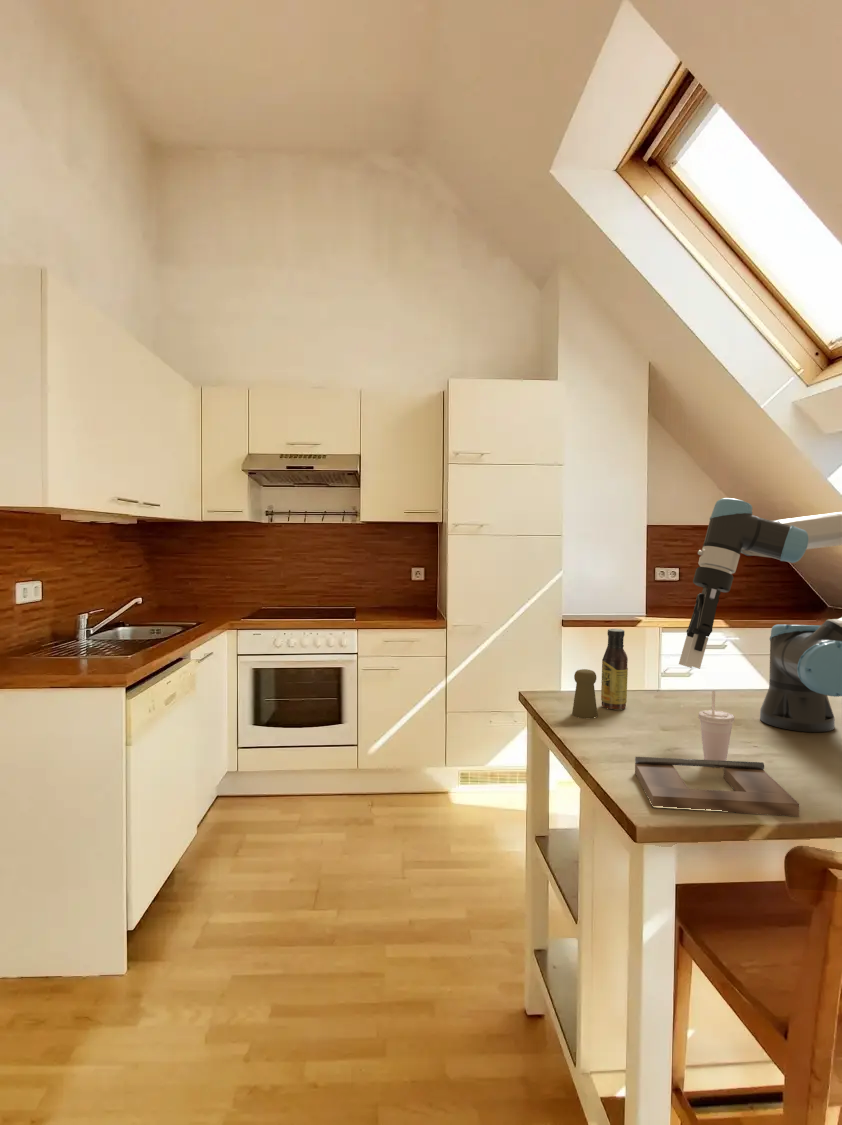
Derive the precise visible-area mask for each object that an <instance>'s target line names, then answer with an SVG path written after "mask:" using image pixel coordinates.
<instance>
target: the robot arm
mask: <svg viewBox="0 0 842 1125" xmlns="http://www.w3.org/2000/svg"><path fill="white" fill-rule="evenodd" d="M836 546H837V547H838V546H842V511H838V512H829V513H822V514H814V515H805V516H798V517H792V518H791V517H790V518H783V519H776V520H770V519H766V518H763V517H759V516H756V515H753V505H752V504H750V503H749V502H748V501H745V500H742V499H737V498H731V497H724V498H720V499H718V500H717V501H716V502H715V504H714V506H713V510H712V513H711V515H710V517H709V523H708V526H707V530H706V534H705V538H704V541H703V545H702V548H701V549H699V550H698V551H697V555H699V560H698V565H699V566H698V567H697V568H696V569H695V573H694V575H693V576H694V577H693V579H692V583H693V584H694V585H695V586H697V587H701V588H702V591H701V593H700V592H699V594H697V595H696V600H695V604H694V607H693V612H692V615H691V618H690V621H689V624H688V628H687V629H686V637H685V640H684V644H683V647H682V651H681V654H680V657H679V661H678V665H680V666H684V667H687V668H691V669H692V668H695V669H696V668H697V669H701V666H702V663H703V658H704V655H705V651H706V649H707V645H708V644H707V643H708V641H709V637H710V635H711V634H712V633H713V626H714V622H715V617H716V612H717V611H716V610H717V608H718V604H719V600H720V598H719V597H720V595H721V593H729V592H730V591H731V587H732V584H733V581H734V576H733V574H735V573H736V571H737V567H738V564H739V560H740V557H741V554H743V555H745V556H747V557H753V556H755V557H763V558H772V559H776V560H779V561H780V562H787V563H793V564H794V563H798V562H799V561H801V559H802V558H803V557H804V555H805V553H806V551H807V550H813V549H819V548H820V549H821V548H829V547H836ZM769 645H770V646H769V683H768V690H767V692H766V694H765V697H764V700H763V702H762V704H761V706H760V709H759V711H760V712H759V720H760V721H762V722H763V723H764V724H767V725H770V726H772V727H775V728H779V729H783V730H789V731H797V732H803V733H804V732H807V733H823V732H830V731H833V730H834V729H835V723H836V722H835V720H836V719H835V716H834V713H833V709H832V706H831V704H830V700H829V697H834V698H835V697H836V698H837V697H842V616H841V617H839V618H832V619H830V618H828V619H826V620H825V621H824V622H823V623H822V624H819V625H818V624H817V625H813V624H811V625H810V624H809V625H808V624H775V625H773V626H772V627H771V629H770V636H769Z"/></svg>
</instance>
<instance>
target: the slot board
mask: <svg viewBox="0 0 842 1125" xmlns="http://www.w3.org/2000/svg"><path fill="white" fill-rule="evenodd" d="M634 774H635V775H637V776H636V778H637V777H638V778H637V780H638V779H639V780H638V782H639V781H640V782H639V784H640V783H641V784H640V786H641V785H642V786H641V788H642V787H643V788H644V790H645V792H646V794H647V796H648V797H649V799H650V801H651V803H652V805H653V806H663V807H677V808H691V809H705V810H706V809H711V810H722V811H728V812H736V813H735V814H747V815H748V814H749V815H750V814H751V815H764V814H766V815H767V814H768V815H767V816H782V815H785V817H800V803H799V802H798V801H797V800H796V799H795V798H794V797H793V796H792V795H791V794H789V793H788V791H786V790H785V789H784V788H783V786H782V785H780V784H779V783H778V782H777V781H776V780H775V779H774V778H773V777H772V776H770V774H768V773H767V771H766V770H763V769H742V768H723V779H724V780H725V781H726V782H727V783H728V784H729V786H730V787H731V786H732V787H733V788H734V789H733V788H732V787H731V788H732V789H733V790H718V789H717V790H716V789H715V790H714V789H699V788H697V789H695V788H689V787H688V785H687V784H686V782H685V781H684V779H683V778H682V776H681V775H680V774H679V772H678V771H677V769H676V768H675V765H659V764H638V763H635V762H634ZM643 788H642V789H643ZM644 790H643V791H644ZM645 792H644V793H645ZM646 794H645V795H646ZM647 796H646V797H647ZM728 812H727V813H728ZM786 815H787V816H786Z"/></svg>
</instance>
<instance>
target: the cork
mask: <svg viewBox="0 0 842 1125" xmlns="http://www.w3.org/2000/svg"><path fill="white" fill-rule="evenodd" d="M573 678H574V682H575V683H576V684H575V691H574V698H573V706H572V712H571V715H572V716H573V717H575V718H578V717H579V719H586V718H590V719H595V718H594V717H596V716H597V715H598V707H597V698H596V691H595V689H596V688H595V683H596V682H597V674H596V672H595V671H594V670H591V669H585V668H584V669H583V668H582V669H577V670H576V671H575V672H574V677H573ZM597 717H598V716H597ZM597 717H596V718H597Z"/></svg>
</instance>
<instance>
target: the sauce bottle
mask: <svg viewBox="0 0 842 1125" xmlns="http://www.w3.org/2000/svg"><path fill="white" fill-rule="evenodd" d="M624 637H625V630H624V629H621V628H609V629H607V647H606V649H605V652H604V655H603V657H602V661H601V688H600V689H601V691H600V692H601V693H600V694H601V695H600V700H601V706H603V707H602V708H604V707H605V708H604V709H607V708H608V709H607V710H612V709H622V710H625V709H626V707H627V705H626V704H627V702H628V700H627V698H628V676H629V675H628V673H629V672H628V671H629V668H628V663H629V662H628V661H629V660H628V654H627V653H626V651H625V650H624V649H625V648H624Z"/></svg>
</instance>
